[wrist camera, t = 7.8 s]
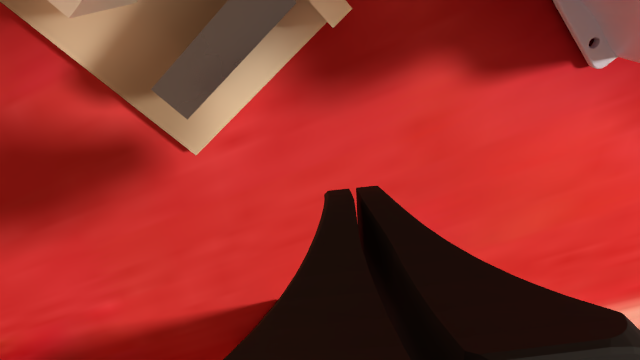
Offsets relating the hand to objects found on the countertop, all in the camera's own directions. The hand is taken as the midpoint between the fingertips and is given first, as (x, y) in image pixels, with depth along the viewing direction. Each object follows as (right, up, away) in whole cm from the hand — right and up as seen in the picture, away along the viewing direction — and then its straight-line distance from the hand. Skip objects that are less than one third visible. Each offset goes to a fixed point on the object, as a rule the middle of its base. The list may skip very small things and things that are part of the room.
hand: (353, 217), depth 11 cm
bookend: (-4, +8, +5) cm, 10 cm away
